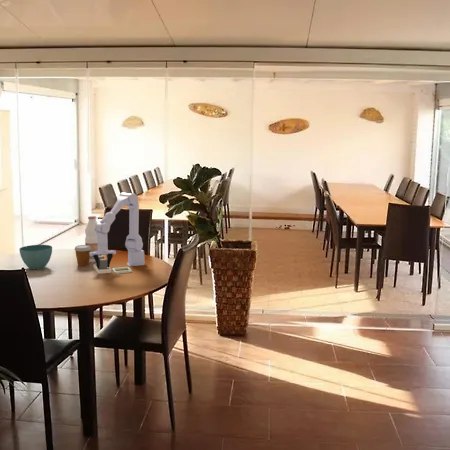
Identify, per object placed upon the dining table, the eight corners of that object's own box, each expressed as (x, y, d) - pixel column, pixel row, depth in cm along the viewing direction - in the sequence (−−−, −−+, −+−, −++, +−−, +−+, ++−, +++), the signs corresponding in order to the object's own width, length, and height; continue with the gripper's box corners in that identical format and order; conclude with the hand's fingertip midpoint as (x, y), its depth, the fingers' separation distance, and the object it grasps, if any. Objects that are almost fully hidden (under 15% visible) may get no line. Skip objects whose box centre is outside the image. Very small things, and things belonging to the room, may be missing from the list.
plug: (106, 270, 324) (105, 258, 323) (107, 272, 320) (107, 259, 319) (99, 271, 322) (98, 258, 321) (100, 272, 319) (100, 260, 318)
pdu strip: (105, 267, 334) (105, 263, 334) (110, 273, 319) (110, 269, 319) (93, 268, 331) (93, 264, 331) (98, 274, 317) (98, 270, 316)
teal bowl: (43, 272, 321) (42, 251, 319) (14, 271, 324) (12, 250, 322) (58, 265, 338) (57, 245, 336) (31, 264, 342) (29, 244, 340)
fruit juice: (90, 263, 343) (88, 218, 339) (83, 260, 350) (81, 216, 346) (104, 261, 349) (102, 216, 345) (97, 258, 356) (95, 214, 352)
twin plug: (103, 267, 331) (103, 255, 330) (104, 268, 328) (104, 256, 327) (96, 268, 330) (96, 256, 329) (97, 269, 326) (97, 257, 325)
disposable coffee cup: (87, 268, 331) (86, 248, 329) (72, 267, 333) (71, 247, 331) (94, 264, 340) (93, 245, 339) (79, 264, 342) (78, 244, 340)
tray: (128, 269, 329) (127, 266, 328) (131, 273, 320) (131, 270, 320) (112, 270, 325) (112, 268, 325) (115, 274, 317) (115, 271, 317)
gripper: (90, 246, 313) (91, 270, 315) (116, 244, 318) (117, 267, 320) (88, 243, 319) (89, 267, 321) (114, 242, 325) (114, 265, 327)
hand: (103, 267), depth 321 cm, fingers open, 5 cm apart
